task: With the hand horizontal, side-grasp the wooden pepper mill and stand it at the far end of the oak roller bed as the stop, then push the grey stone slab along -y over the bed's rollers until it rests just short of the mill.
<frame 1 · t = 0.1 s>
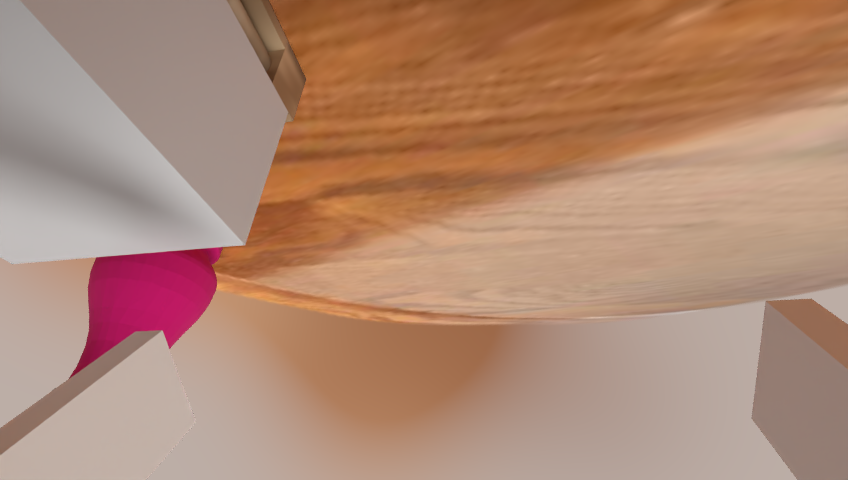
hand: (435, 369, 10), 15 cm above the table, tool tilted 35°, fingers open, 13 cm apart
roller bed: (55, 12, 20), on the table
slab: (113, 34, 17), point 3 cm above the table, touching roller bed
pepper mill: (181, 223, 33), on the table
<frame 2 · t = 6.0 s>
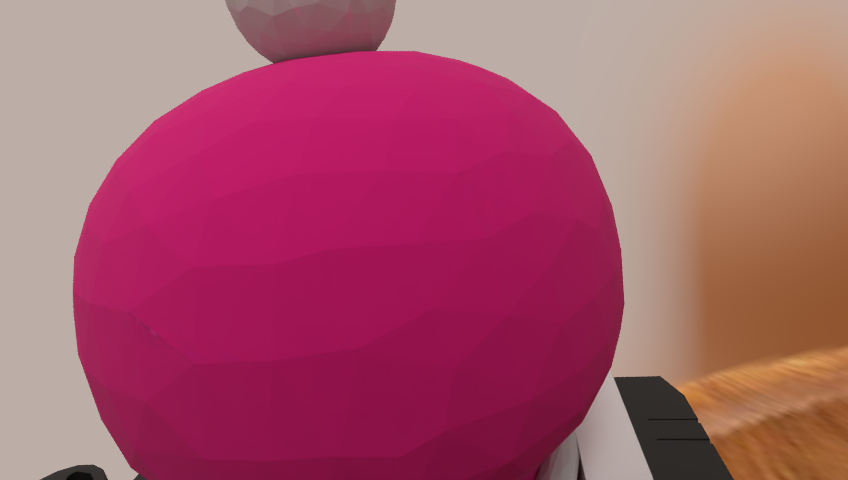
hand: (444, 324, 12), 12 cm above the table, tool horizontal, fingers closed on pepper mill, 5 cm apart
when the fingers open (14 cm above the table, at t = 10.2 s): pepper mill drops 1 cm, point 1 cm above the table.
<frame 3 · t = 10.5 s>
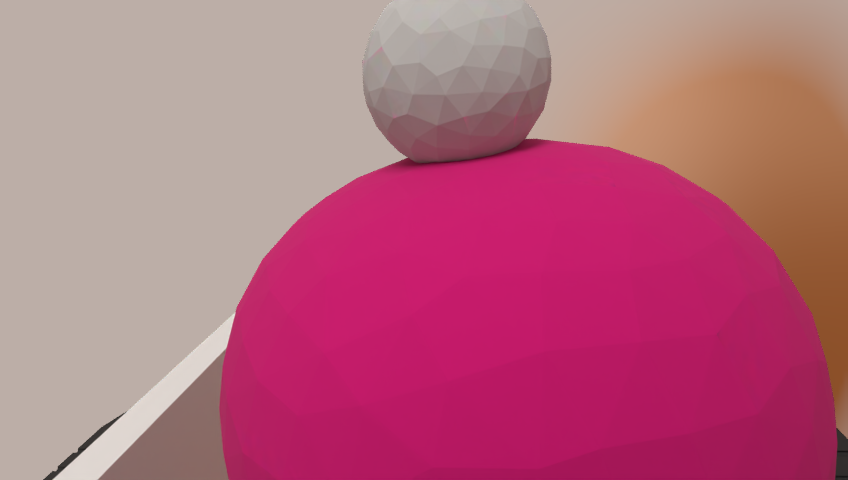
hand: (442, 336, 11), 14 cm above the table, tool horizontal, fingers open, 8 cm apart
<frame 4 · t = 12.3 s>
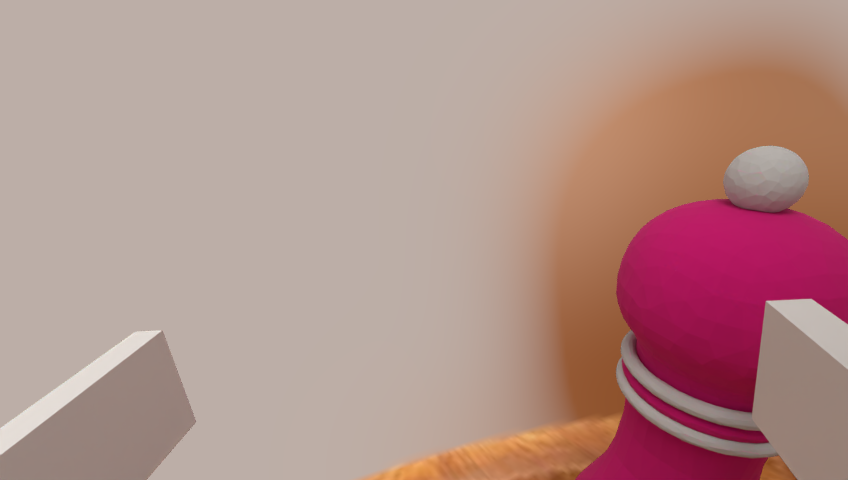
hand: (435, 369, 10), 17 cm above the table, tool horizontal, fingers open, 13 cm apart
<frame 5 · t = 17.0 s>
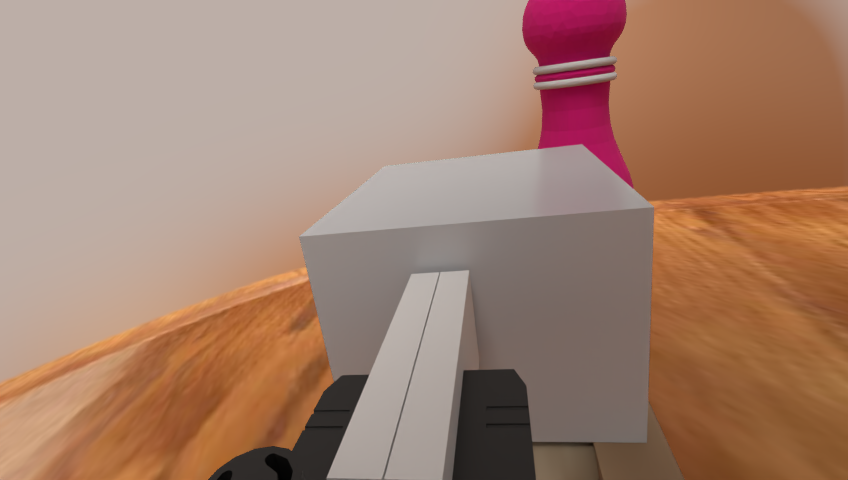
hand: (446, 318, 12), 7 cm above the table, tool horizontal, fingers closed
roller bed: (498, 366, 22), on the table
slab: (490, 348, 18), point 3 cm above the table, touching gripper, roller bed
pepper mill: (578, 263, 33), on the table, touching roller bed
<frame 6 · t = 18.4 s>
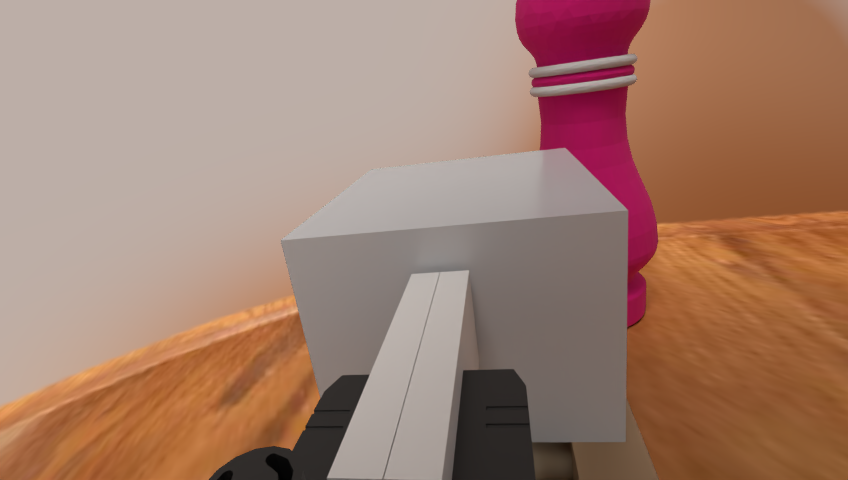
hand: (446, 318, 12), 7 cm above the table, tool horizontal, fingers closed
slab: (475, 350, 19), point 3 cm above the table, touching roller bed
pepper mill: (586, 309, 27), on the table, touching roller bed
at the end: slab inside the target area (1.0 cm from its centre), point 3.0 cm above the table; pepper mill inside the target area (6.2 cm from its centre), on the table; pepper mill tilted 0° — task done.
